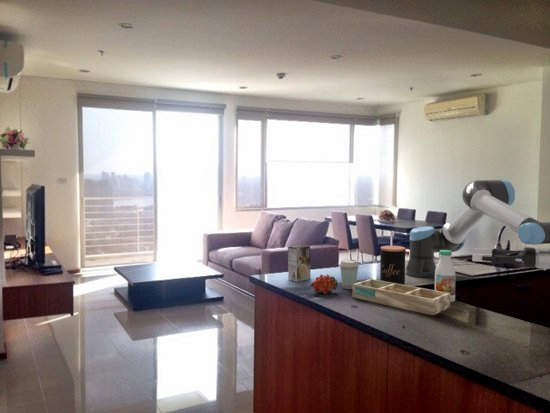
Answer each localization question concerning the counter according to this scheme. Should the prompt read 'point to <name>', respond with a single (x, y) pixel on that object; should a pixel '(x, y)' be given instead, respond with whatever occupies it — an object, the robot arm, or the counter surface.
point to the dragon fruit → (324, 284)
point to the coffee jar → (392, 264)
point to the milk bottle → (445, 274)
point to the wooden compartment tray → (402, 296)
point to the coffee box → (299, 263)
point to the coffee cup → (349, 273)
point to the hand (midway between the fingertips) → (473, 254)
